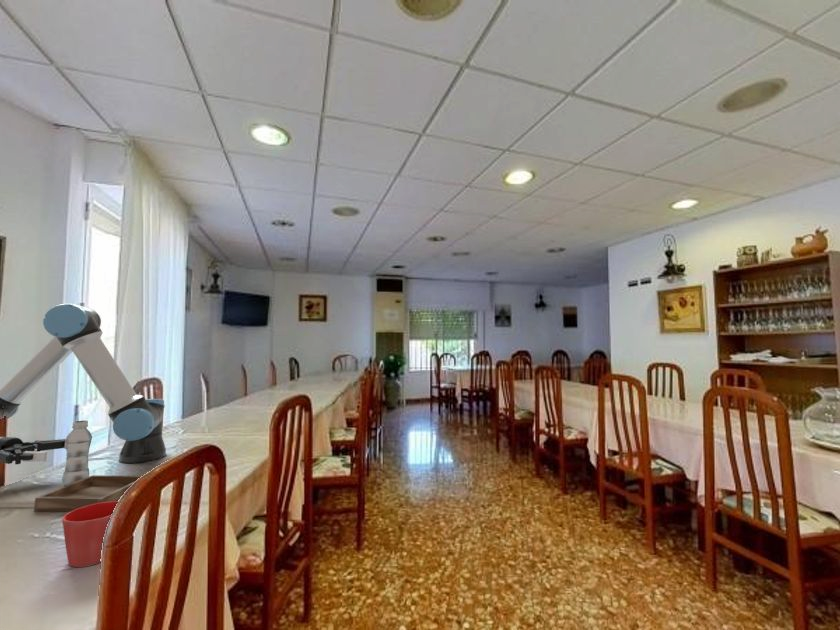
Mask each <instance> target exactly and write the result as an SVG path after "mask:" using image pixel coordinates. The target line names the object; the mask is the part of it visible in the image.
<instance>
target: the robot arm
mask: <svg viewBox="0 0 840 630" xmlns="http://www.w3.org/2000/svg"><path fill="white" fill-rule="evenodd" d="M42 319H43V320H42V325H43V328H44V329H45V331H46V332H48V334H50V335H51V336H53V337H52V339H50V340H49V341H48V342H47V344H45V345H44V346H43V347H42V348H41V349H40V350H39V351H38V352H37V353H36V354H35V355H34V356H33V357H32V358H31V359H30V360H29V361H28V362H27V363H26V364H24V366H23V367H22V368H21V369H20V370H19V371H18V372H17V373H16V374H15V375H14V376H12V378H11V379H9V381H8V382H6V384H4V385H3V387H2V388H0V419H2V418H4V416H6V413H7V419H10V418H11V417H13V416H15V414H16V413H18V410H19V406H20V405H21V404H22V403H24V401H25V400H26V399H27V398H28V397H29V396H30V395H31V394H32V393H33V392H34V391H35V390H36V389H37V388H38V387H40V385H41V384H42V383H43V382H44V381H46V379H47V378H48V377H49V376H50V375H51V374H52V373H53V372H54V371H55V370H56V369H57V368H58V367H59V366H60V365H61V364H62V363H63V362H64V361H65V360H66V359H67V358H68V357H69V356H70V355H72V353H73V354H74V356H75V357H76V359H77V360H78V362H79V364H81V367H82V368H83V370H84V371H85V373H86V374H87V375H88V377H89V378H90V380H91V382H93V385H94V387H95V388H96V389H97V390H98V392H99V394H101V395H100V396H101V397H102V398H103V400H104V401H105V403H106V404H107V405H108V408H109V409H108V412H107V415H108V417H109V418H110V420H111V422H112V430H113V431H112V432H113V433H114V434H115V436H117V438H119V439H121V440H123V441H125V442H124V444H123V445H122V448H121V450H120V453H119V455H118V456H119V457H118V461H119V462H121V463H123V464H124V463H127V464H133V463H136V464H137V463H144V462H145V463H146V462H151V461H154V459H155V460H159V459H161V458H163V456H164V457H165V456H166V454H167V448H166V445H165V444H166V443H165V441H164V438H163V428H164V427H163V426H164V412H165V411H164V410H165V400H164V399H163V398H148V399H147V398H146V397H145V396H144V395H141V394H137V393H136V391H135V390H134V388H133V386H132V385H131V384H130V382H129V380H128V379H127V377H126V376H125V374H124V373H123V371H122V369H121V368H120V367H119V365H118V363H117V362H116V360H115V359H114V358H113V355H112V354H111V353H110V350H109V349H108V348H107V346H106V345H105V343H104V342H103V340H102V338H101V337H102V336H103V331H102V329H101V325H102V318H101V317H100V314H99V313H98V312H97V311H96V310H94V309H93V308H90V307H87V306H82V305H79V304H77V303H76V304H75V303H61V304H58V305H55V306H53V307H51V308H49V309H48V310H47V311H46V313H45V314H44V317H43V318H42ZM2 406H3V407H4V408H3V407H2ZM5 411H6V412H5ZM7 419H6V420H7ZM59 449H60V450H61V449H64V450H66V438H60V439H49V440H38V439H36V440H34V441H25V442H24V441H23V440H22V439H21V438H19V437H16V436H15V437H13V436H10V437H9V436H0V463H4V464H8V465H10V464H12V463H13V462H14V465H21V464H22V463H21V462H41V463H44V462H47V456H48V451H51V450H59ZM160 457H161V458H160ZM158 458H159V459H158ZM150 460H151V461H150Z"/></svg>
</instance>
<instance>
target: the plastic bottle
mask: <svg viewBox="0 0 840 630" xmlns="http://www.w3.org/2000/svg"><path fill="white" fill-rule="evenodd" d="M88 423H89V421H88V420H77V421H73V422H72V427H71V428H72V430H71V431H70V432H69V433H68V435H67V436H66V438H65V439H66V449H65V451H66V455H65V456H66V458H65V466H64V470H63V474H62V478H61V483H62V485H63V487H64V486H67V485H69V484H72V483H74V482H77V481H79V480H82V479H84V478H87V477H89V476H90V469H89V452H90V448H91V443H92V439H93V436H92V433H91V432H90V430H89V429H88V427H89V424H88Z"/></svg>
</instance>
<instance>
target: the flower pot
mask: <svg viewBox="0 0 840 630" xmlns="http://www.w3.org/2000/svg"><path fill="white" fill-rule="evenodd" d="M117 503H118V501H110V502H102V503H96V504H92V505H88V506H84V507H81V508H78V509H75V510H73V511H71V512H66V514H64V515H63V517H62V518H61V519H62V522H61V523H62V527H63V529H62V530H63V536H64V543H65V549H66V550H65V551H66V556H67V563H68V565H69V566H71V567H75V568H84V567H90V566H93V565H96V564H100V563H101V562H100V559H101V550H102V543H103V537H104V534H105V530H106V527H107V524H108V522H109V520H110V517H111V514H112V513H113V510H114V508H115V506H116V504H117Z"/></svg>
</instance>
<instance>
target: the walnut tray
mask: <svg viewBox="0 0 840 630" xmlns="http://www.w3.org/2000/svg"><path fill="white" fill-rule="evenodd" d="M141 476H142V475H103V474H102V475H99V474H98V475H97V474H95V475H94V474H92V475H89V477H87V478H84V479H82V480H79V481H77V482H74V483H72V484H69V485H67V486H64V485H63V486H62V487H60V488H59V487H58V488H57V489H55V490H52V491H50V492H47V493H44V494H42V495H40V496H36V497H34V506H33V507H34V508H33V512H42V513H43V512H45V513H46V512H48V513H49V512H50V513H51V512H52V513H53V512H54V513H55V512H56V513H69V512H71V511H73V510H75V509H78V508H81V507H84V506H88V505H92V504H96V503H102V502H110V501H118V500H119V499H120V497H121V496H122V495H123V494H124V492H125V491H126V490H127V489H128V488H129V487H130V486H131V485H132V484H133V483H134V482H135V481H136V480H137V479H138V478H140V477H141Z"/></svg>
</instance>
